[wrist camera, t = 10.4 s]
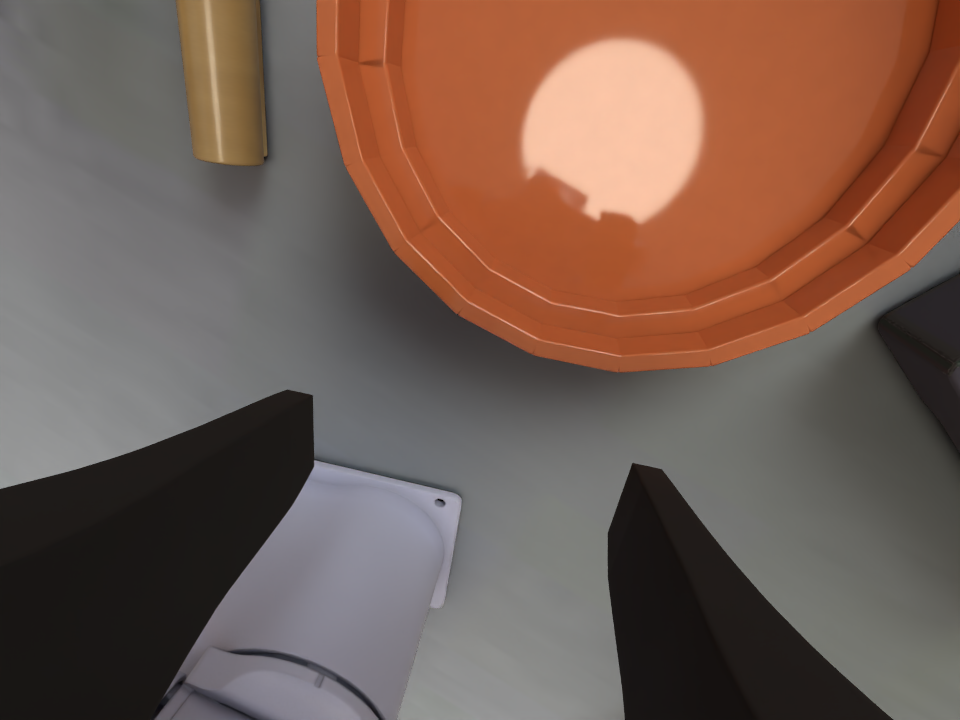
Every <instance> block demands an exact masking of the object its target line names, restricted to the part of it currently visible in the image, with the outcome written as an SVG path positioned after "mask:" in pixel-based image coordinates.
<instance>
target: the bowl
mask: <svg viewBox="0 0 960 720" xmlns="http://www.w3.org/2000/svg"><path fill="white" fill-rule="evenodd" d="M317 56H318V58H317V61H318V65H319V69H320V73H321V76H322V80H323V84H324V88H325V92H326V96H327V100H328V103H329V107H330V111H331V115H332V119H333V123H334V127H335V130H336V134H337V138H338V142H339V146H340V150H341V154H342V158H343V161H344V165H345V166H346V169H347V171H348V173H349V174H350V176H351V178H352V180H353V182H354V183H355V185H356V187H357V189H358V190H359V192H360V194H361V196H362V197H363V199H364V201H365V203H366V204H367V206H368V208H369V210H370V212H371V213H372V215H373V217H374V219H375V220H376V222H377V224H378V226H379V227H380V229H381V231H382V233H383V235H384V236H385V238H386V240H387V242H388V243H389V245H390V247H391V249H392V250H393V251H395V252H394V253H395V254H396V255H397V256H398V257H399V258H400V259H401V260H402V261H403V262H404V263H405V264H406V265H407V266H408V267H409V268H410V269H411V270H412V271H413V272H414V273H415V274H416V275H417V276H418V277H419V278H420V279H421V280H422V281H423V282H424V283H425V284H426V285H427V286H428V287H429V288H430V289H431V290H432V291H433V292H434V293H435V294H436V295H437V296H438V297H439V298H441V299H442V300H443V301H444V302H445V303H446V304H447V305H448V306H449V307H450V308H451V309H452V310H453V311H454V312H455V313H456V314H458V315H459V316H460V317H462V318H464V319H466V320H468V321H470V322H472V323H473V324H475V325H477V326H479V327H481V328H483V329H485V330H487V331H488V332H490V333H492V334H494V335H496V336H498V337H500V338H502V339H503V340H505V341H507V342H509V343H511V344H513V345H515V346H517V347H518V348H520V349H522V350H524V351H526V352H528V353H530V354H533V355H534V356H539V357H543V358H548V359H553V360H558V361H563V362H568V363H572V364H577V365H582V366H587V367H592V368H597V369H601V370H606V371H611V372H620V373H622V372H636V371H650V370H665V369H679V368H694V367H708V366H710V365H711V366H714V365H717V364H720V363H723V362H726V361H729V360H732V359H735V358H738V357H741V356H744V355H747V354H750V353H753V352H756V351H759V350H762V349H765V348H768V347H771V346H774V345H777V344H780V343H783V342H785V341H788V340H791V339H794V338H797V337H800V336H803V335H806V334H809V332H812V331H814V330H816V329H817V328H819V327H820V326H822V325H824V324H825V323H827V322H828V321H830V320H832V319H833V318H835V317H836V316H838V315H839V314H841V313H843V312H844V311H846V310H847V309H849V308H851V307H852V306H854V305H855V304H857V303H858V302H860V301H862V300H863V299H865V298H866V297H868V296H870V295H871V294H873V293H874V292H876V291H877V290H879V289H881V288H882V287H884V286H885V285H887V284H889V283H890V282H892V281H893V280H895V279H896V278H898V277H900V276H901V275H903V274H904V273H906V272H908V271H909V270H910V269H911V268H910V267H914V266H915V265H916V264H917V263H918V262H919V261H920V260H921V259H922V258H923V257H924V256H925V255H926V254H927V253H928V252H929V251H930V250H931V249H932V248H933V247H934V246H935V245H936V244H937V243H938V242H939V241H940V240H941V239H942V238H943V237H944V236H945V235H946V234H947V233H948V232H949V231H950V230H951V229H952V228H953V227H954V226H955V225H956V224H957V223H958V222H959V221H960V0H317Z"/></svg>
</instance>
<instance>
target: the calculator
mask: <svg viewBox="0 0 960 720" xmlns="http://www.w3.org/2000/svg"><path fill="white" fill-rule="evenodd" d="M878 329H879V332H880V333H881V335H882V337H883V339H884V340H885V342H886V344H887V345H888V347H889V348H890V350H891V352H892V353H893V355H894V356H895V358H896V360H897V361H898V363H899V364H900V366H901V368H902V369H903V371H904V373H905V374H906V376H907V377H908V379H909V381H910V382H911V384H912V385H913V387H914V389H915V390H916V392H917V393H918V395H919V396H920V398H921V399H922V400H923V401H924V402H925V404H926V405H927V406H928V407H929V408H930V410H931V411H932V412H933V413H934V415H935V416H936V417H937V418H938V419H939V421H940V422H941V423H942V425H943V426H944V428H945V430H946V431H947V433H948V434H949V436H950V438H951V439H952V441H953V443H954V444H955V446H956V447H957V449H958V451H959V452H960V274H959V275H957V276H955V277H953V278H951V279H949V280H948V281H946V282H944V283H942V284H940V285H938V286H937V287H935V288H933V289H931V290H929V291H927V292H926V293H924V294H922V295H920V296H918V297H916V298H915V299H913V300H911V301H909V302H907V303H905V304H904V305H902V306H900V307H898V308H896V309H895V310H893V311H891V312H889V313H888V314H886V315H885V316H883V317H882V318H881V320H880V321H879V324H878Z"/></svg>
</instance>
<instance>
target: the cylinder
mask: <svg viewBox="0 0 960 720" xmlns="http://www.w3.org/2000/svg"><path fill="white" fill-rule="evenodd" d="M176 8H177V16H178V25H179V34H180V43H181V51H182V60H183V69H184V78H185V86H186V95H187V104H188V112H189V121H190V130H191V139H192V147H193V155H194V157H195V158H197V159H199V160H202V161H206V162H211V163H217V164H224V165H235V166H258V165H262V164H264V157H265V156H267V135H266V115H265V95H264V74H263V54H262V34H261V14H260V0H176Z"/></svg>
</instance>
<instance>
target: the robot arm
mask: <svg viewBox="0 0 960 720" xmlns="http://www.w3.org/2000/svg"><path fill="white" fill-rule="evenodd" d="M438 499H442V500H444V502H441V501H439V500H438ZM461 506H462V499H461V498H460V496H459V495H457V494H455V493H453V492H448V491H444V490H440V489H435V488H431V487H427V486H423V485H418V484H414V483H410V482H406V481H401V480H397V479H393V478H388V477H384V476H380V475H376V474H371V473H367V472H363V471H359V470H354V469H350V468H346V467H341V466H337V465H333V464H329V463H324V462H320V461H316V460H314V433H313V395H310V394H305V393H301V392H296V391H291V390H285V391H282V392H279V393H277V394H274V395H272V396H269V397H267V398H264V399H262V400H259V401H257V402H255V403H252V404H250V405H248V406H245V407H243V408H241V409H239V410H236V411H234V412H232V413H229V414H227V415H225V416H222V417H220V418H217V419H215V420H213V421H210V422H208V423H206V424H203V425H201V426H199V427H196V428H194V429H191V430H188V431H186V432H183V433H181V434H178V435H176V436H173V437H170V438H168V439H165V440H163V441H160V442H157V443H155V444H152V445H150V446H147V447H144V448H142V449H139V450H136V451H133V452H130V453H127V454H124V455H121V456H118V457H115V458H112V459H109V460H106V461H102V462H99V463H96V464H93V465H89V466H86V467H83V468H80V469H76V470H73V471H69V472H65V473H61V474H58V475H54V476H50V477H46V478H42V479H38V480H34V481H30V482H26V483H22V484H18V485H14V486H10V487H6V488H3V489H0V720H397V717H398V714H399V710H400V707H401V703H402V700H403V697H404V693H405V690H406V686H407V683H408V679H409V676H410V672H411V669H412V666H413V662H414V659H415V655H416V652H417V648H418V645H419V641H420V638H421V635H422V631H423V628H424V624H425V621H426V617H427V614H428V611H429V607H432V608H441V607H443V605H444V602H445V598H446V592H447V587H448V581H449V575H450V569H451V564H452V558H453V552H454V546H455V540H456V535H457V529H458V523H459V517H460V512H461ZM608 582H609V590H610V598H611V606H612V614H613V622H614V629H615V637H616V645H617V652H618V660H619V667H620V675H621V683H622V691H623V702H624V713H625V720H893V719H892V718H891V717H890V716H888V715H887V714H886V713H885V712H884V711H882V710H881V709H880V708H879V707H878V706H877V705H876V704H875V703H873V702H872V701H871V700H870V699H869V698H868V697H867V696H866V695H864V694H863V693H862V692H861V691H860V690H859V689H858V688H857V687H856V686H854V685H853V684H852V683H851V682H850V681H849V680H848V679H847V678H846V677H844V676H843V675H842V674H841V673H840V672H839V671H838V670H837V669H836V668H834V667H833V666H832V665H831V664H830V663H829V662H828V661H827V660H826V659H825V658H824V657H823V656H822V655H821V654H820V653H819V652H818V651H816V650H815V649H814V648H813V647H812V646H811V645H810V644H809V643H808V642H807V641H806V640H805V639H804V638H803V637H802V636H801V635H800V634H799V633H798V632H797V631H796V630H795V629H794V628H793V627H792V625H791V624H790V623H789V622H788V621H787V620H786V619H785V618H784V617H783V616H782V615H781V614H780V613H779V612H778V611H777V610H776V609H775V608H774V607H773V606H772V605H771V604H770V603H769V602H768V601H767V600H766V598H765V597H764V596H763V595H762V594H761V593H760V592H759V591H758V590H757V588H756V587H755V586H754V585H753V584H752V583H751V582H750V580H749V579H748V578H747V577H746V576H745V575H744V574H743V572H742V571H741V570H740V569H739V568H738V567H737V566H736V564H735V563H734V562H733V561H732V560H731V558H730V557H729V556H728V555H727V554H726V552H725V551H724V550H723V549H722V547H721V546H720V545H719V544H718V542H717V541H716V540H715V539H714V537H713V536H712V535H711V534H710V532H709V531H708V530H707V528H706V527H705V526H704V525H703V523H702V522H701V521H700V519H699V518H698V517H697V515H696V514H695V513H694V511H693V510H692V509H691V507H690V506H689V505H688V503H687V502H686V501H685V499H684V498H683V497H682V495H681V494H680V493H679V491H678V490H677V489H676V487H675V486H674V485H673V483H672V482H671V481H670V479H669V478H668V477H667V475H666V474H665V473H664V472H663V470H662V469H658V468H653V467H649V466H644V465H639V464H635V463H632V466H631V469H630V472H629V475H628V477H627V480H626V483H625V486H624V489H623V492H622V494H621V497H620V500H619V503H618V506H617V509H616V511H615V514H614V517H613V520H612V523H611V526H610V528H609V531H608Z"/></svg>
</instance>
